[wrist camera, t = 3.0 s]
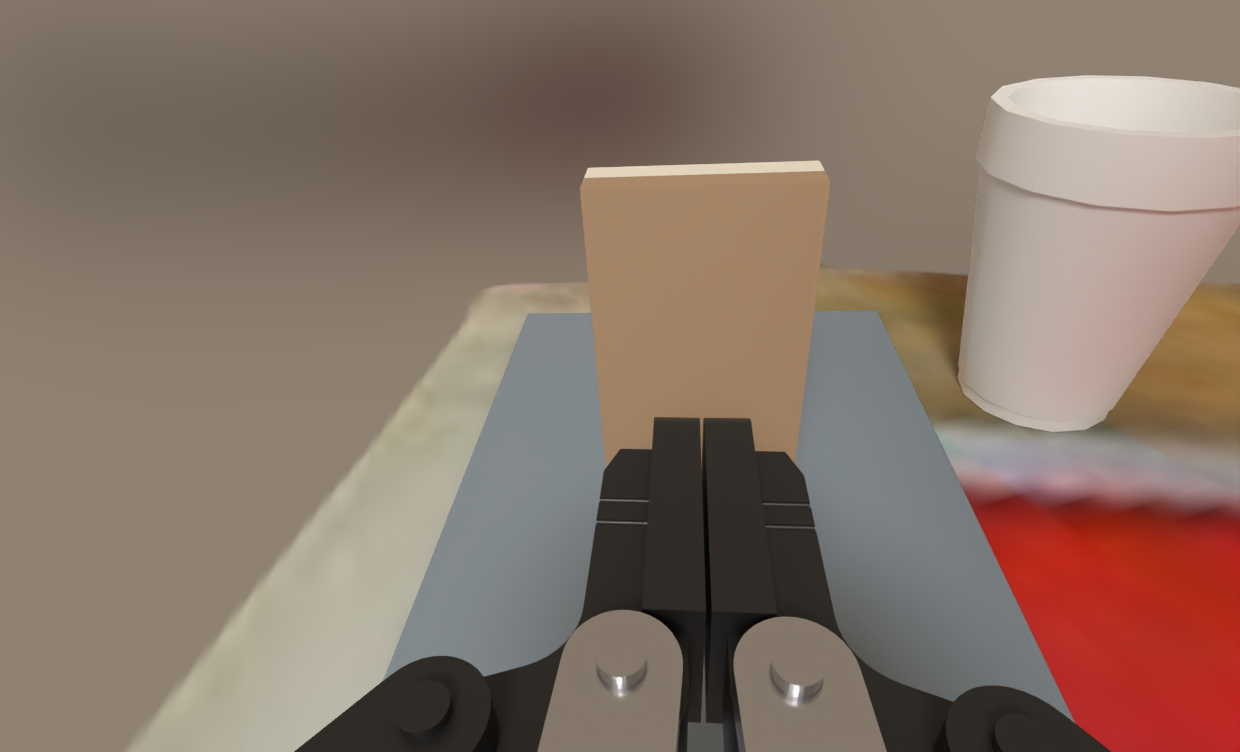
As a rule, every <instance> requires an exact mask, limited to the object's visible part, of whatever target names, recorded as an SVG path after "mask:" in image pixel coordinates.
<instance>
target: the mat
mask: <svg viewBox="0 0 1240 752" xmlns="http://www.w3.org/2000/svg"><path fill="white" fill-rule="evenodd" d="M795 465H796V466H797V467H798V468H799V470H800V471H801V472H802V473H803V475H804V477H805V482H806V486H807V491H808V496H809V500H810V508H811V509H812V514H813V518H814V523H815V531H816V532H817V537H818V541H819V546H820V551H821V555H822V560H823V564H824V569H825V574H826V578H827V583H828V587H829V592H830V597H831V601H832V606H833V610H834V615H835V619H836V622H837V625H838V628H839V630H840V632H841V634H842V636H843V638H844V640H845V641H846V642H847V644H848V645H849V647H850V648H851V649H852V650H853V651H854V653H855V654H856V655H857V656H858V657H859V658H860V659H862V660H863V661H864V662H865V663H866V664H867V665H869V666H870V667H871V668H873V669H874V670H876V671H877V672H879V673H880V674H882V675H884V676H886V677H888V678H889V679H892V680H894V681H897V682H899V683H901V684H904V685H907V686H910V687H913V688H916V689H919V690H921V691H924V692H927V693H930V694H933V695H936V696H939V697H942V698H944V699H947V700H950V701H953V702H954V701H955V700H956V699H957V698H958V696H960V695H961V694H963V693H964V692H966V691H967V690H970V689H973V688H975V687H980V686H986V685H998V686H1005V687H1011V688H1014V689H1018V690H1021V691H1024V692H1026V693H1029V694H1031V695H1034V696H1036V697H1038V698H1039V699H1041V700H1043V701H1045V702H1047V703H1048V704H1050V705H1051V706H1053V707H1054V708H1056V709H1057V710H1058V711H1060V712H1061V713H1063V714H1064V715H1065V716H1066V717H1068V718H1069V719H1070V720H1071V721H1073V722H1074V720H1073V718H1072V716H1071V713H1070V711H1069V709H1068V707H1067V705H1066V703H1065V701H1064V699H1063V697H1062V695H1061V693H1060V691H1059V689H1058V686H1057V684H1056V682H1055V680H1054V678H1053V676H1052V674H1051V672H1050V670H1049V668H1048V666H1047V664H1046V661H1045V659H1044V657H1043V655H1042V653H1041V651H1040V649H1039V647H1038V645H1037V643H1036V641H1035V639H1034V636H1033V634H1032V632H1031V630H1030V628H1029V626H1028V624H1027V622H1026V620H1025V618H1024V616H1023V614H1022V611H1021V609H1020V607H1019V605H1018V603H1017V601H1016V599H1015V597H1014V595H1013V593H1012V591H1011V589H1010V587H1009V584H1008V582H1007V580H1006V578H1005V576H1004V574H1003V572H1002V570H1001V568H1000V566H999V564H998V562H997V559H996V557H995V555H994V553H993V551H992V549H991V547H990V545H989V543H988V541H987V539H986V537H985V534H984V532H983V530H982V528H981V526H980V524H979V522H978V520H977V518H976V516H975V514H974V512H973V509H972V507H971V505H970V503H969V501H968V499H967V497H966V495H965V493H964V491H963V489H962V487H961V484H960V482H959V480H958V478H957V476H956V474H955V472H954V470H953V468H952V466H951V464H950V462H949V460H948V457H947V455H946V453H945V451H944V449H943V447H942V445H941V443H940V441H939V439H938V437H937V435H936V432H935V430H934V428H933V426H932V424H931V422H930V420H929V418H928V416H927V414H926V412H925V410H924V407H923V405H922V403H921V401H920V399H919V397H918V395H917V393H916V391H915V389H914V387H913V385H912V382H911V380H910V378H909V376H908V374H907V372H906V370H905V368H904V366H903V364H902V362H901V360H900V358H899V355H898V353H897V351H896V349H895V347H894V345H893V343H892V341H891V339H890V337H889V335H888V333H887V330H886V328H885V326H884V324H883V322H882V320H881V318H880V316H879V314H878V312H877V311H814V318H813V326H812V334H811V341H810V349H809V357H808V365H807V373H806V381H805V389H804V397H803V405H802V413H801V421H800V429H799V437H798V445H797V452H796V460H795ZM605 469H606V465H605V455H604V444H603V433H602V422H601V411H600V400H599V389H598V379H597V368H596V357H595V346H594V335H593V324H592V313H552V314H528V315H527V318H526V320H525V323H524V325H523V328H522V330H521V333H520V335H519V338H518V340H517V343H516V346H515V348H514V351H513V353H512V356H511V358H510V361H509V363H508V366H507V368H506V371H505V373H504V376H503V378H502V381H501V384H500V386H499V389H498V391H497V394H496V396H495V399H494V401H493V404H492V406H491V409H490V411H489V414H488V417H487V419H486V422H485V424H484V427H483V429H482V432H481V434H480V437H479V439H478V442H477V444H476V447H475V449H474V452H473V455H472V457H471V460H470V462H469V465H468V467H467V470H466V472H465V475H464V477H463V480H462V482H461V485H460V488H459V490H458V493H457V495H456V498H455V500H454V503H453V505H452V508H451V510H450V513H449V515H448V518H447V520H446V523H445V526H444V528H443V531H442V533H441V536H440V538H439V541H438V543H437V546H436V548H435V551H434V553H433V556H432V559H431V561H430V564H429V566H428V569H427V571H426V574H425V576H424V579H423V581H422V584H421V586H420V589H419V591H418V594H417V597H416V599H415V602H414V604H413V607H412V609H411V612H410V614H409V617H408V619H407V622H406V624H405V627H404V630H403V632H402V635H401V637H400V640H399V642H398V645H397V647H396V650H395V652H394V655H393V657H392V660H391V662H390V665H389V668H388V670H387V673H386V675H385V678H384V680H385V679H386V678H387V677H389V676H390V675H391V674H393V673H394V672H396V671H397V670H398V669H400V668H401V667H403V666H405V665H407V664H409V663H411V662H414V661H416V660H419V659H422V658H427V657H431V656H452V657H456V658H460V659H463V660H465V661H467V662H469V663H471V664H472V665H473V666H474V667H476V668H477V669H478V670H479V671H480V673H481V674H482V675H483V676H484V677H485V676H488V675H492V674H496V673H499V672H503V671H507V670H510V669H514V668H518V667H522V666H525V665H528V664H531V663H534V662H537V661H539V660H541V659H543V658H545V657H547V656H548V655H550V654H551V653H553V652H554V651H556V650H557V649H558V648H559V647H560V646H562V645H563V644H564V643H565V642H566V641H567V639H568V638H569V637H570V636H571V635H572V633H573V632H574V630H575V629H576V627H577V625H578V623H579V620H580V618H581V615H582V611H583V606H584V599H585V593H586V586H587V579H588V573H589V566H590V559H591V553H592V546H593V539H594V533H595V526H596V523H597V512H598V506H599V502H600V492H601V486H602V479H603V472H604V470H605ZM384 680H383V681H384ZM1074 723H1075V722H1074ZM687 752H724V740H723V724H718V723H706V706H705V668H704V664H703V686H702V708H701V723H694V722H688V739H687Z"/></svg>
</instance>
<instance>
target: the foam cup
mask: <svg viewBox="0 0 1240 752" xmlns="http://www.w3.org/2000/svg"><path fill="white" fill-rule="evenodd" d="M976 159H977V160H978V161H979V162H980V172H979V181H978V190H977V199H976V208H975V217H974V227H973V236H972V245H971V254H970V263H969V272H968V281H967V290H966V299H965V308H964V317H963V327H962V336H961V345H960V354H959V363H958V367H959V373H958V377H957V378H958V381H959V383H960V386H961V388H962V391H963V393H964V395H965V396H966V397H968V398H969V399H970V400H971V401H973V402H974V403H975V404H976V405H977V406H979V407H980V408H981V409H982V410H983V411H985V412H987V413H989V414H991V415H994V416H996V417H998V418H1001V419H1003V420H1005V421H1008V422H1010V423H1012V424H1015V425H1017V426H1023V427H1028V428H1033V429H1039V430H1044V431H1049V432H1063V431H1077V430H1086V429H1088V428H1090V427H1092V426H1093V425H1095V424H1097V423H1099V422H1101V421H1103V420H1105V418H1106V416H1107V414H1108V412H1109V411H1110V410H1112V409H1113V408H1114V406H1115V405H1116V404H1117V402H1118V401H1119V399H1120V398H1121V396H1122V395H1123V393H1124V392H1125V391H1126V389H1127V388H1128V386H1129V385H1130V383H1131V382H1132V380H1133V379H1134V378H1135V376H1136V375H1137V373H1138V372H1139V370H1140V369H1141V367H1142V366H1143V365H1144V363H1145V362H1146V360H1147V359H1148V357H1149V356H1150V354H1151V353H1152V352H1153V350H1154V349H1155V347H1156V346H1157V344H1158V343H1159V341H1160V340H1161V339H1162V337H1163V336H1164V334H1165V333H1166V331H1167V330H1168V328H1169V327H1170V326H1171V324H1172V323H1173V321H1174V320H1175V318H1176V317H1177V315H1178V314H1179V313H1180V311H1181V310H1182V308H1183V307H1184V305H1185V304H1186V302H1187V301H1188V300H1189V298H1190V297H1191V295H1192V294H1193V292H1194V291H1195V289H1196V288H1197V287H1198V285H1199V284H1200V282H1201V281H1202V279H1203V278H1204V276H1205V275H1206V274H1207V272H1208V271H1209V269H1210V268H1211V266H1212V265H1213V263H1214V262H1215V260H1216V259H1217V257H1218V256H1219V255H1220V253H1221V252H1222V250H1223V249H1224V247H1225V246H1226V245H1227V243H1228V242H1229V240H1230V239H1231V237H1232V236H1233V235H1234V233H1235V231H1236V230H1237V229H1238V227H1239V226H1240V88H1235V87H1230V86H1225V85H1220V84H1214V83H1208V82H1198V81H1188V80H1177V79H1167V78H1156V77H1142V76H1139V77H1138V76H1137V77H1136V76H1090V75H1088V76H1087V75H1085V76H1070V77H1056V78H1041V79H1034V80H1029V81H1024V82H1020V83H1015V84H1011V85H1006V86H1002V87H1001V88H1000V89H999V90H998V91H997V92H996V93H995V94H994V95H993V96H992V97H991V98H990V102H989V106H988V110H987V114H986V118H985V122H984V126H983V130H982V134H981V138H980V142H979V146H978V150H977V154H976Z"/></svg>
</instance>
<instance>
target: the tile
mask: <svg viewBox="0 0 1240 752" xmlns="http://www.w3.org/2000/svg"><path fill="white" fill-rule="evenodd" d="M830 183H831V182H830V180H829V178H828V177H827V174H826V172H825V171H824V169H823V167H822V165H821V163H820V162H819V161H798V162H797V161H796V162H766V163H733V164H700V165H669V166H668V165H667V166H637V167H636V166H634V167H602V168H588V169H587V172H586V175H585V177H584V180H583V182H582V185H581V188H580V194H581V205H582V215H583V227H584V237H585V248H586V258H587V269H588V281H589V292H590V303H591V313H592V324H593V335H594V346H595V357H596V368H597V379H598V389H599V400H600V411H601V422H602V433H603V444H604V455H605V465H606V467H607V466H608V465H609V463H610V462H611V461H612V459H613V458H614V457H615V455H616V454H617V453H618V451H619V450H620V449H652V441H653V426H654V417H686V418H700V435H701V468H702V441H703V419H704V418H750V419H751V424H752V431H753V438H754V446H755V451H776V452H786V453H787V455H788V456H789V457H790V458H791V460H792V461H793V462H794V463H795V460H796V452H797V445H798V437H799V429H800V421H801V413H802V405H803V397H804V389H805V381H806V373H807V365H808V357H809V349H810V341H811V334H812V326H813V318H814V310H815V302H816V294H817V286H818V278H819V270H820V262H821V254H822V246H823V238H824V230H825V222H826V215H827V206H828V198H829V190H830Z"/></svg>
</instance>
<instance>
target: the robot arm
mask: <svg viewBox="0 0 1240 752" xmlns="http://www.w3.org/2000/svg"><path fill="white" fill-rule="evenodd" d="M703 664H704V668H705V706H706V723H718V724H723V740H724V752H1111V751H1109V750H1108V749H1107V748H1106V747H1104V746H1103V745H1102V744H1101V743H1099V742H1098V741H1097V740H1095V739H1094V738H1093V737H1092V736H1090V735H1089V734H1088V733H1087V732H1085V731H1084V730H1083V729H1082V728H1080V727H1079V726H1078V725H1076V724H1075V723H1074V722H1073V721H1071V720H1070V719H1069V718H1068V717H1066V716H1065V715H1064V714H1063V713H1061V712H1060V711H1058V710H1057V709H1056V708H1054V707H1053V706H1051V705H1050V704H1048V703H1047V702H1045V701H1043V700H1041V699H1039V698H1038V697H1036V696H1034V695H1031V694H1029V693H1026V692H1024V691H1021V690H1018V689H1014V688H1011V687H1005V686H998V685H986V686H980V687H975V688H973V689H970V690H967V691H966V692H964V693H963V694H961V695H960V696H958V698H957V699H956V700H955V701H954V702H953V701H950V700H947V699H944V698H942V697H939V696H936V695H933V694H930V693H927V692H924V691H921V690H919V689H916V688H913V687H910V686H907V685H904V684H901V683H899V682H897V681H894V680H892V679H889V678H888V677H886V676H884V675H882V674H880V673H879V672H877V671H876V670H874V669H873V668H871V667H870V666H869V665H867V664H866V663H865V662H864V661H863V660H862V659H860V658H859V657H858V656H857V655H856V654H855V653H854V651H853V650H852V649H851V648H850V647H849V645H848V644H847V642H846V641H845V640H844V638H843V636H842V634H841V632H840V630H839V628H838V625H837V622H836V619H835V615H834V610H833V606H832V601H831V597H830V592H829V587H828V583H827V578H826V574H825V569H824V564H823V560H822V555H821V551H820V546H819V541H818V537H817V532H816V531H815V523H814V518H813V514H812V509H811V508H810V500H809V496H808V491H807V486H806V482H805V477H804V475H803V473H802V472H801V471H800V470H799V468H798V467H797V466H796V465H795V463H794V462H793V461H792V460H791V458H790V457H789V456H788V455H787V453H786V452H776V451H755V446H754V438H753V431H752V424H751V419H750V418H704V419H703V441H702V468H701V435H700V418H686V417H654V426H653V441H652V449H620V450H619V451H618V453H617V454H616V455H615V457H614V458H613V459H612V461H611V462H610V463H609V465H608V466H607V467H606V469H605V470H604V472H603V479H602V486H601V492H600V502H599V506H598V512H597V523H596V526H595V533H594V539H593V546H592V553H591V559H590V566H589V573H588V579H587V586H586V593H585V599H584V606H583V611H582V615H581V618H580V620H579V623H578V625H577V627H576V629H575V630H574V632H573V633H572V635H571V636H570V637H569V638H568V639H567V641H566V642H565V643H564V644H563V645H562V646H560V647H559V648H558V649H557V650H556V651H554V652H553V653H551V654H550V655H548V656H547V657H545V658H543V659H541V660H539V661H537V662H534V663H531V664H528V665H525V666H522V667H518V668H514V669H510V670H507V671H503V672H499V673H496V674H492V675H488V676H485V677H484V676H483V675H482V674H481V673H480V671H479V670H478V669H477V668H476V667H474V666H473V665H472V664H471V663H469V662H467V661H465V660H463V659H460V658H456V657H452V656H431V657H427V658H422V659H419V660H416V661H414V662H411V663H409V664H407V665H405V666H403V667H401V668H400V669H398V670H397V671H396V672H394V673H393V674H391V675H390V676H389V677H387V678H386V679H385V680H384V681H382V682H381V683H380V684H379V685H377V686H376V687H375V688H374V689H372V690H371V691H370V692H369V693H367V694H366V695H365V696H364V697H362V698H361V699H360V700H359V701H357V702H356V703H355V704H354V705H352V706H351V707H350V708H349V709H347V710H346V711H345V712H343V713H342V714H341V715H340V716H338V717H337V718H336V719H335V720H333V721H332V722H331V723H330V724H328V725H327V726H326V727H325V728H323V729H322V730H321V731H320V732H318V733H317V734H316V735H315V736H313V737H312V738H311V739H310V740H308V741H307V742H306V743H304V744H303V745H302V746H301V747H299V748H298V749H297V750H296V751H294V752H687V739H688V722H694V723H701V708H702V686H703Z"/></svg>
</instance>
